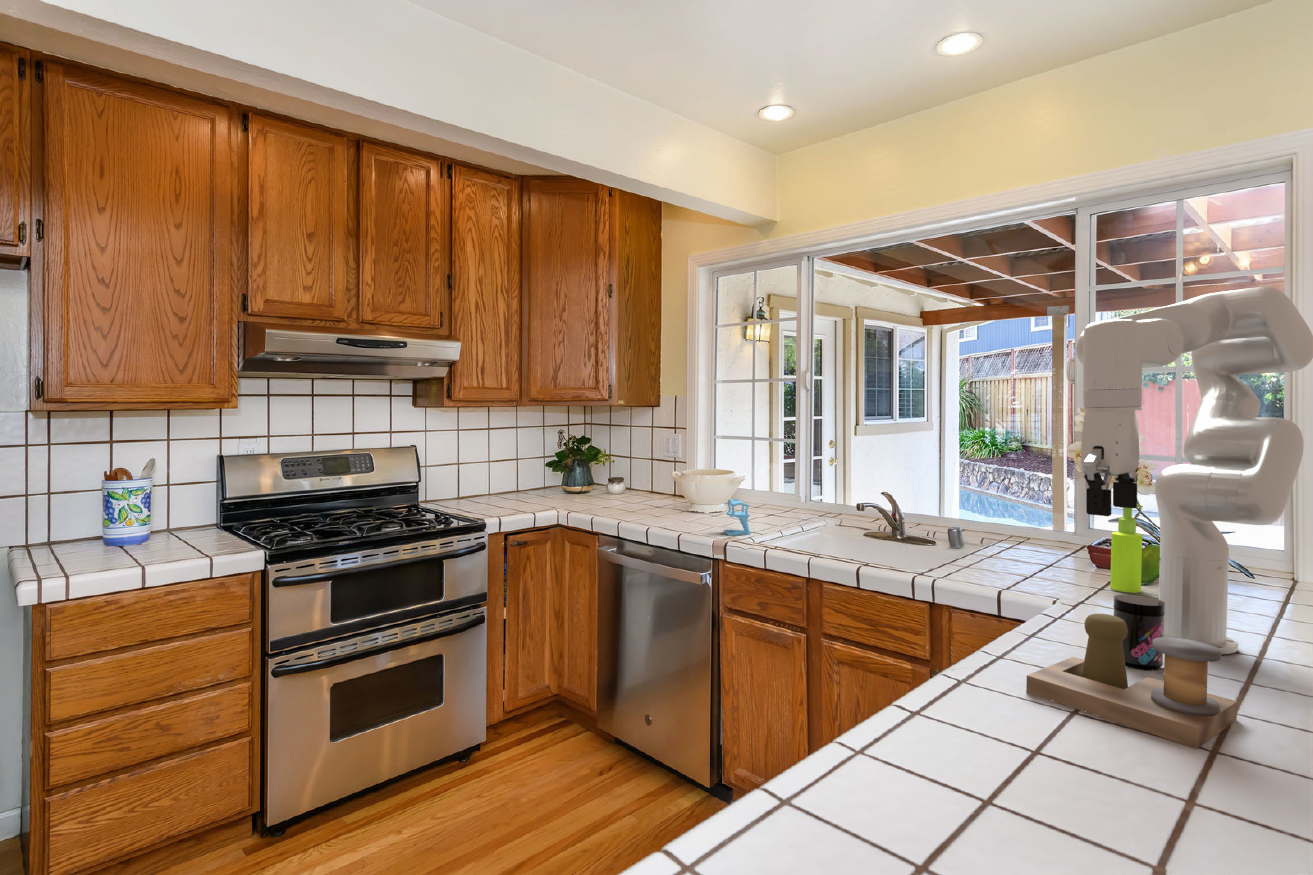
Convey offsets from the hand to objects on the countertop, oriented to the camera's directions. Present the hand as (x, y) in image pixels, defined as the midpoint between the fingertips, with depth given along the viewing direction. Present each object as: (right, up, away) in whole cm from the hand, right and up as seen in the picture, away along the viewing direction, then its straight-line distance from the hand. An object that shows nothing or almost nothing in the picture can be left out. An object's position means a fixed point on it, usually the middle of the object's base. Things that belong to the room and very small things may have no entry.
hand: (1112, 511), depth 106 cm
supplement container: (+6, -25, +4) cm, 26 cm away
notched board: (-7, -25, -13) cm, 29 cm away
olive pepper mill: (-6, -25, -7) cm, 27 cm away
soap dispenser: (+39, -24, +53) cm, 70 cm away
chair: (-43, -22, +126) cm, 135 cm away
